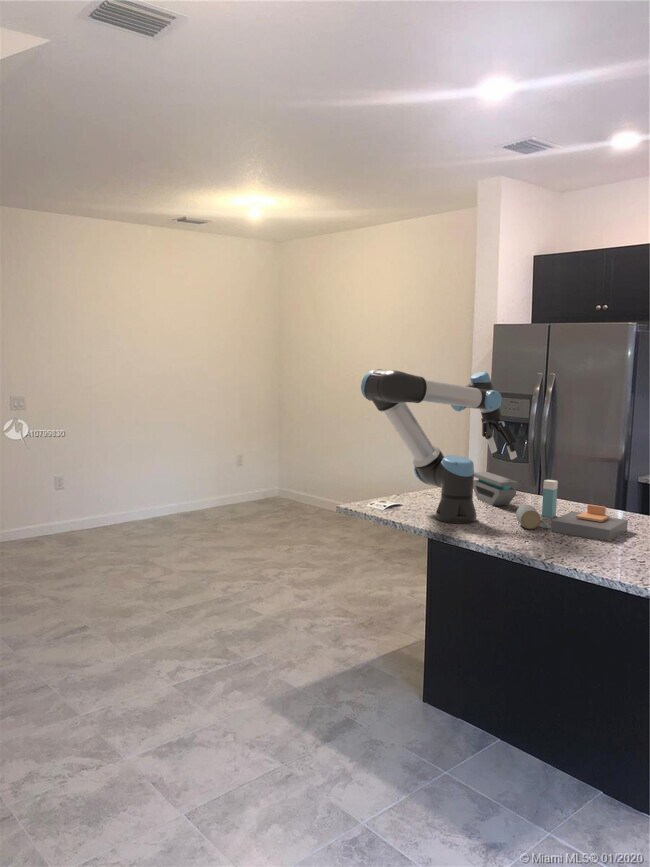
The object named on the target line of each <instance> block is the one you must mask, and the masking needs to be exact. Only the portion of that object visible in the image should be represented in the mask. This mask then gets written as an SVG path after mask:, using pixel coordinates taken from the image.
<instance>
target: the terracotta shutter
mask: <svg viewBox="0 0 650 867" xmlns="http://www.w3.org/2000/svg"><path fill="white" fill-rule="evenodd" d="M606 510H607V507H606V506H603V505H602V506H601V505H596V504H587V509H586V511H584V512H580V513H581V514H579V515H577V516H576V518H579V519H585V520H592V521H598V522H603V521H605V520H607V519H608V518H610V517H611V515H609V514H608V515H607V513H606Z"/></svg>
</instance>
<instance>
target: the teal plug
mask: <svg viewBox="0 0 650 867" xmlns="http://www.w3.org/2000/svg"><path fill="white" fill-rule="evenodd" d="M558 484H559V481H558V480H555V479H545V480H543V488H542V490H543V491H542V505H541V506H542V507H541V517H543V516H545V517H544V518H549V517H551V518H550V519H552V517H553V518H555V517H556V516H557V501H558V486H559V485H558ZM554 516H555V517H554Z"/></svg>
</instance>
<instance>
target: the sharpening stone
mask: <svg viewBox="0 0 650 867" xmlns="http://www.w3.org/2000/svg"><path fill="white" fill-rule="evenodd" d="M474 478H476V479H477V480H476V479H475V480H474V481H473V492H474V494H475V497H476V498H477V500H478V501H479V500H480V502H481V501H482V503H484V502H485V504H486V503H487V505H489V506H491V505H493V506H508V505H509V504H510V503H511V502H512V500H513V499H514V498H515V497H516V494H517V489H515V488H513V487H515V486H516V487H518V486H519V482H518V481H516V480H513V479H510V478H507V477H505V476H501V475H498V474H495V473H492V472H488V471H482V472H481V471H479V472H477V471H476V472H475V471H474Z"/></svg>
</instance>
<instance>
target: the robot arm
mask: <svg viewBox="0 0 650 867" xmlns="http://www.w3.org/2000/svg"><path fill="white" fill-rule="evenodd" d="M469 379H470V380H469V381H470V383H468V384H467V385H459V384H453V383H452V384H451V383H445V382H441V381H434V380H428V379H427V380H426V378H425V377H424V376H420V375H414V374H411V373H406V372H403V371H400V370H394V369H393V370H391V369H390V370H387V369H385V370H384V369H381V368H379V369H373V370H370V371H368V372H367V373H366V374H365V375H364V376H363V377H362V379H361V384H360V391H361V394H362V395H363V397H364V399H367V400H368V401H369V402H370V401H371V402H372V403H373V405H374V406H375V407H376V409H377V410H378V412H381V413H385V415H386V417H387V419H388V420H389V421H390V423H391V425H392V426H393V428H394V429H395V431H396V432H397V434H398V435H399V437H400V438H401V440H402V441H403V443H404V444H405V446H406V448H407V449H408V451H409V452H410V454H411V455H412V456H413V459H412V464H413V467H414V468H413V471H414V474H415V476H416V478H417V480H419V482H422V483H424V484H426V485H429V486H434V487H437V488H441V490H440V491H441V492H440V493H441V494H440V496H441V497H440V500H439V504H438V506H437V508H436V510H435V519H436V520H438V521H440V522H444V523H449V524H471V523H475V522H477V519H478V518H477V512H476V511H477V510H476V507H475V505H474V500H473V499H474V498H473V495H474V494H473V493H474V489H473V481H474V479H475V477H474V472H475V466H474V461H473V460H472V459H470V458H467V457H465V456H460V455H444V454H443V452H442V451H441V449H440V448H439V447H438V446H435V445H433V444H432V443H431V441H430V439H429V438H428V436H427V435H426V433H425V431H424V430H423V428H422V426H421V425H420V423H419V422H418V420H417V418H416V417H415V416H414V413H413V412H412V411H411V408H410V407H409V406H408V404H407V403H411V404H412V403H414V404H420V403H422V402H427V403H437V404H442V405H450V406H451V408H452V409H453V410H454V411H456V412H461V411H464V410H465V409H466V408H467V409H478V410H479V411H480V414H481V417H482V418H481V424H482V425H481V426H482V428H481V429H482V430H481V433H482V434H481V435H482V437H483V438H485V439H486V440H487V444H488V447H489V450H490V453H491V454H494V453H496V452H497V451H498V449H497V446H496V445H497V444H496V441H495V439H494V437H493V432H496V433H497V434H499V435H500V437H501V438H502V439H503V440H504V442H505V443H506V448H507V452H508V455H509V458H510V460H511V461H512V460H514V459H516V458H518V455H517V452H516V448H515V445H514V444H515V443H517V440H516V438H515V436H514V435H513V432H511V429H510V428H509V426H508V424H507V422H506V420H502V421H501V419H500V418H501V416H502V413H501V409H500V407H501V404H502V401H503V399H502V395H501V393H500V392H499V391H497V390H494V386H493V383H492V379H491V377H490V374H489V372H487V371H479V372H476V373H473V374H472V375H471V376H470V378H469Z"/></svg>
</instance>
